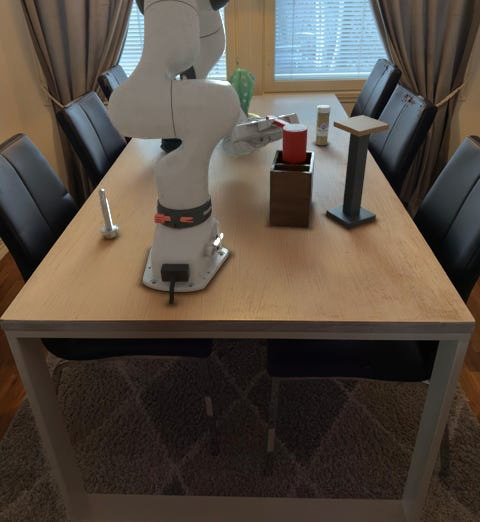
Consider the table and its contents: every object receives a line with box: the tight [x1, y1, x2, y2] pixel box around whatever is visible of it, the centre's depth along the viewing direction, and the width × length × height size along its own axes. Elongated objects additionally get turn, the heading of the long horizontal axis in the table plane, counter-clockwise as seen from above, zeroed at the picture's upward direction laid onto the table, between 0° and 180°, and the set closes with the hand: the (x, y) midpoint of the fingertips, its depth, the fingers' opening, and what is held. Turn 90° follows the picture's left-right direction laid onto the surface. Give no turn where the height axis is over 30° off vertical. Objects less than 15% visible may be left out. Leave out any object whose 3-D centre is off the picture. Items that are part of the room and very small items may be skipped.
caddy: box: [269, 149, 316, 229], centre depth 122 cm, size 14×10×15 cm
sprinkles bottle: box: [314, 104, 331, 146], centre depth 167 cm, size 5×5×14 cm
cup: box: [265, 114, 308, 164], centre depth 121 cm, size 15×6×9 cm, turn 30°
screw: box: [98, 188, 120, 239], centre depth 115 cm, size 13×5×5 cm
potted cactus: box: [227, 67, 260, 118], centre depth 169 cm, size 15×15×25 cm
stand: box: [325, 114, 390, 230], centre depth 117 cm, size 9×9×25 cm
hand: (277, 120), depth 121 cm, fingers closed on cup
